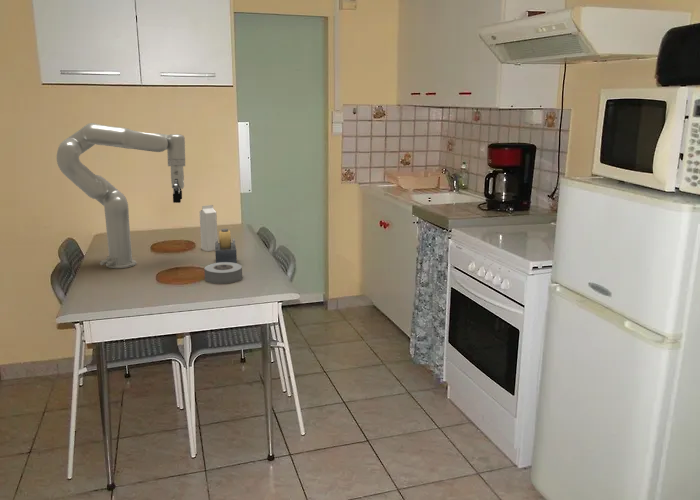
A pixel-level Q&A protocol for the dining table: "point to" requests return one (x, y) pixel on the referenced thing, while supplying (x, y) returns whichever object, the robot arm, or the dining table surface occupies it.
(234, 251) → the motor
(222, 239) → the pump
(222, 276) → the tape roll
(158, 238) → the dining table surface
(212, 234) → the milk
